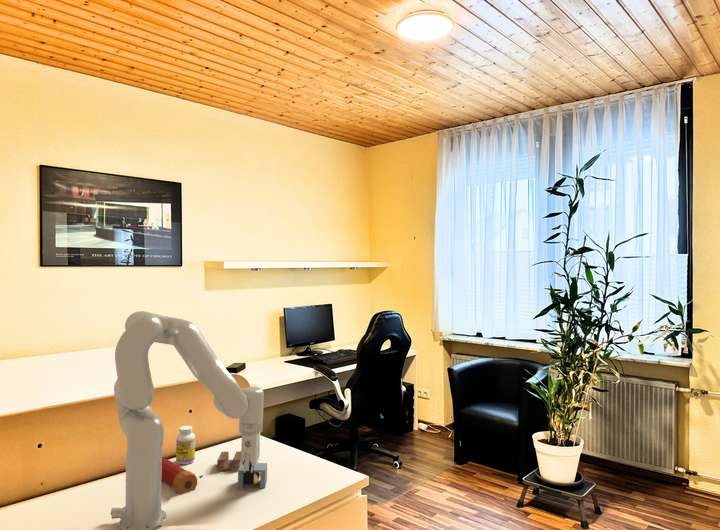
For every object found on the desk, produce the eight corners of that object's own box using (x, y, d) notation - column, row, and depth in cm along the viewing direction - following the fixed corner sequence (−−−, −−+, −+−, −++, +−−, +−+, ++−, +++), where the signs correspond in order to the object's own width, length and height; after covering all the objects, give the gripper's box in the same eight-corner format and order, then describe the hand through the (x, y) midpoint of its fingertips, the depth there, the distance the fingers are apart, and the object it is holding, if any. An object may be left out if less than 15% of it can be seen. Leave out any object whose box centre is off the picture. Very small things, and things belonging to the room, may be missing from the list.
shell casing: (177, 499, 161) (178, 477, 161) (152, 479, 175) (152, 459, 175) (198, 492, 165) (198, 471, 165) (171, 473, 180) (171, 454, 180)
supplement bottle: (172, 464, 188) (172, 429, 188) (183, 457, 194) (183, 424, 194) (187, 466, 186) (188, 431, 186) (198, 459, 192) (198, 425, 192)
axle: (257, 486, 166) (258, 473, 167) (245, 486, 166) (245, 473, 166) (262, 474, 180) (262, 462, 180) (250, 474, 180) (251, 462, 180)
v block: (217, 474, 179) (217, 460, 179) (221, 465, 187) (221, 451, 187) (239, 473, 180) (239, 459, 180) (243, 464, 188) (243, 451, 188)
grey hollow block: (265, 490, 167) (265, 470, 167) (237, 491, 166) (238, 470, 166) (267, 482, 173) (267, 462, 173) (240, 483, 172) (241, 463, 172)
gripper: (259, 434, 157) (257, 493, 156) (265, 420, 172) (262, 474, 171) (235, 433, 156) (232, 493, 156) (242, 419, 171) (240, 474, 171)
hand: (248, 483), depth 163 cm, fingers closed
